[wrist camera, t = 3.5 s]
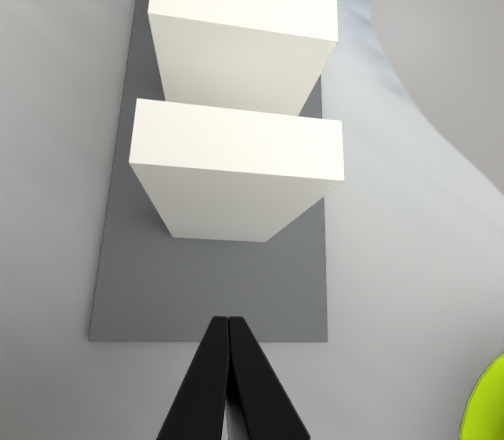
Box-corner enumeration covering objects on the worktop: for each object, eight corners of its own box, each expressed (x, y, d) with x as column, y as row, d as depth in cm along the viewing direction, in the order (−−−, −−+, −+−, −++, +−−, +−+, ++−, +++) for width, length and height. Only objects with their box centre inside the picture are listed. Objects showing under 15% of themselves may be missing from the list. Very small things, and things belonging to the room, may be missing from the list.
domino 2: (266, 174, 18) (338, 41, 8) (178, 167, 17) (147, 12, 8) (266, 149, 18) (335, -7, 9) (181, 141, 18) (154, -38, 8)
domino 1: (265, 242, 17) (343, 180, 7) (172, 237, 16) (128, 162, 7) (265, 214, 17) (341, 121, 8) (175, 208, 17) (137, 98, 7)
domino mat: (324, 340, 17) (327, 342, 16) (91, 339, 15) (88, 340, 15) (315, -56, 23) (317, -61, 23) (149, -88, 21) (149, -95, 21)
